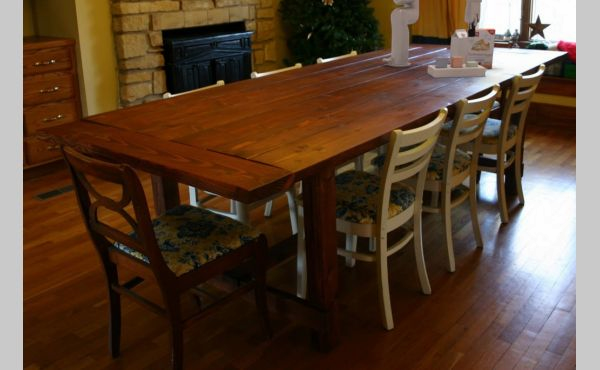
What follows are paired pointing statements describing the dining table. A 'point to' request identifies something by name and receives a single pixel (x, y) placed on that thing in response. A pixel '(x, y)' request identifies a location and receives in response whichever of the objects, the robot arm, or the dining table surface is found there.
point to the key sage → (471, 64)
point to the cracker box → (481, 47)
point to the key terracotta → (456, 61)
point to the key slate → (441, 62)
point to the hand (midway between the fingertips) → (471, 36)
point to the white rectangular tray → (456, 71)
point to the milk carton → (459, 44)
